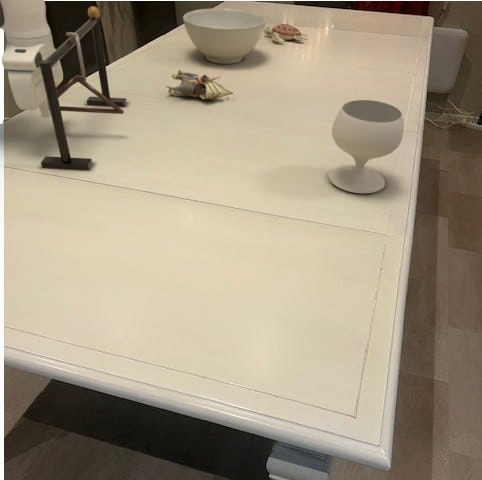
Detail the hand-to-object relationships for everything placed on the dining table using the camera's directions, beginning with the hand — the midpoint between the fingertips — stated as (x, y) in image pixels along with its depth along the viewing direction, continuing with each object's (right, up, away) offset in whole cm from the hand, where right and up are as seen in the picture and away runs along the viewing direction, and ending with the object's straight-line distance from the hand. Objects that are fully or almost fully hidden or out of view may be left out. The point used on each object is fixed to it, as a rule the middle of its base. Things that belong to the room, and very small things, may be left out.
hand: (47, 115), depth 110 cm
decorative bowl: (+38, +41, +54) cm, 78 cm away
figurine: (+33, +16, +27) cm, 45 cm away
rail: (+7, -2, +6) cm, 10 cm away
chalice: (+69, -17, -6) cm, 71 cm away
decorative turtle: (+61, +59, +75) cm, 113 cm away
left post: (+8, +11, +20) cm, 24 cm away
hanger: (+7, +1, +2) cm, 8 cm away
